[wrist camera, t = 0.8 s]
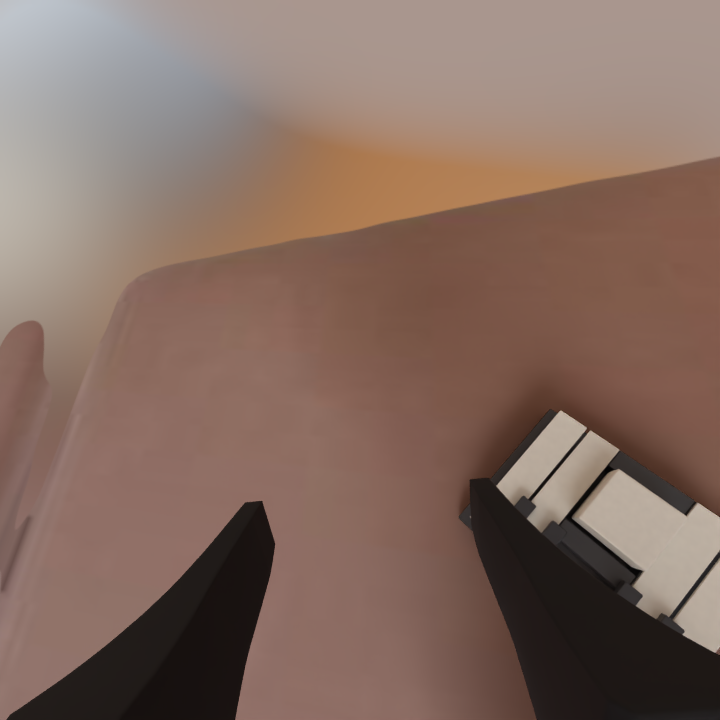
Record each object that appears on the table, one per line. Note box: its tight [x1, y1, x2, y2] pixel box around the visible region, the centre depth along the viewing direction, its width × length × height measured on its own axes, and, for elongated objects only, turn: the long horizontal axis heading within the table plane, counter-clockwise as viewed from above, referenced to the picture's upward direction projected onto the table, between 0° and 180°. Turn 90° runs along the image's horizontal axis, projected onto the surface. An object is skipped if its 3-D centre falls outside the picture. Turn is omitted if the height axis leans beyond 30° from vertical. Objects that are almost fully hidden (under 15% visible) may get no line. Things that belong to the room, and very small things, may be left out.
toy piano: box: [459, 409, 720, 620], centre depth 22 cm, size 10×13×3 cm
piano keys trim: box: [470, 410, 720, 653], centre depth 20 cm, size 9×12×1 cm
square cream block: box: [572, 469, 688, 572], centre depth 20 cm, size 4×4×2 cm
